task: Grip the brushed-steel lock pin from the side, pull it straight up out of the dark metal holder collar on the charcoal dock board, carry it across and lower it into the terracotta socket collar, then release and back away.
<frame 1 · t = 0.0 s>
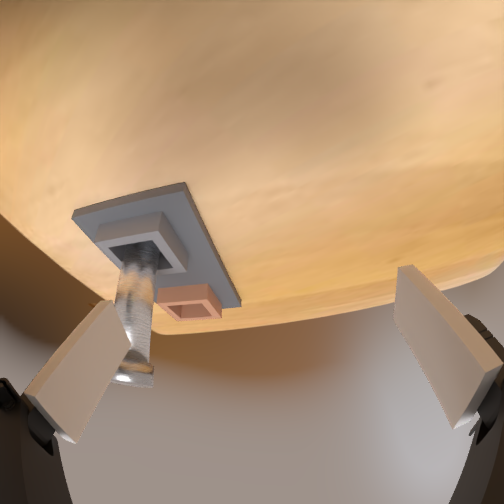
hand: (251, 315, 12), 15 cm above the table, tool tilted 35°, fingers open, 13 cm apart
dock board: (172, 265, 37), on the table
lock pin: (144, 239, 30), point 1 cm above the table, touching dock board
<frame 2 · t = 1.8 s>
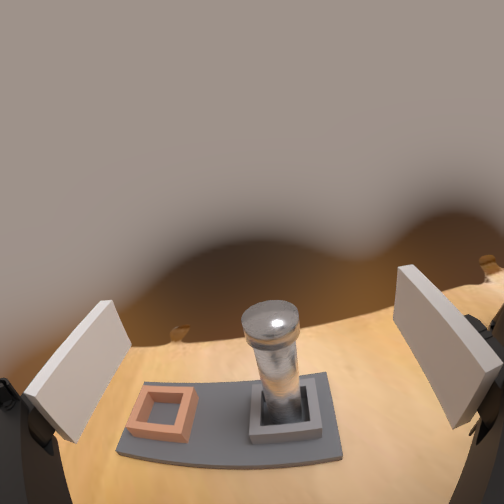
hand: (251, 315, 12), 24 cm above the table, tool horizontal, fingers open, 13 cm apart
dock board: (225, 424, 31), on the table
lock pin: (286, 416, 29), point 1 cm above the table, touching dock board
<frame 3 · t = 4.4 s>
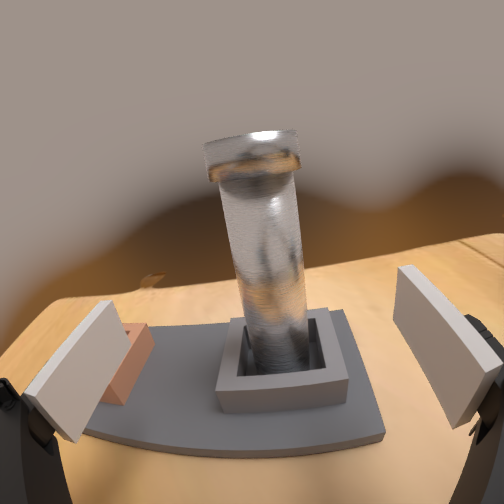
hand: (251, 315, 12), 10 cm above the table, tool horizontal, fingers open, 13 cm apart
dock board: (187, 383, 21), on the table
lock pin: (283, 369, 19), point 1 cm above the table, touching dock board
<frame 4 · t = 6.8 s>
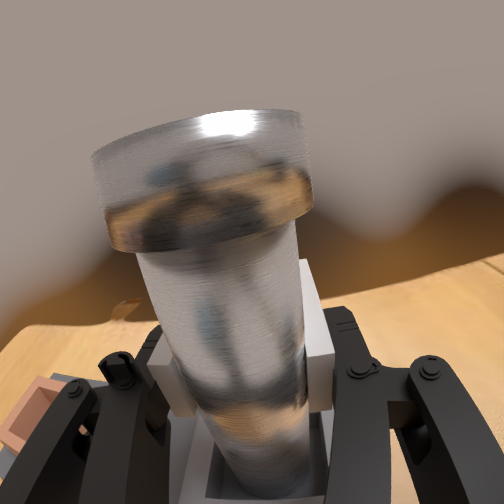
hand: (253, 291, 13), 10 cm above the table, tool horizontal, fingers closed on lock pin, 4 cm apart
dock board: (152, 468, 13), on the table
lock pin: (273, 469, 12), point 1 cm above the table, touching dock board, gripper
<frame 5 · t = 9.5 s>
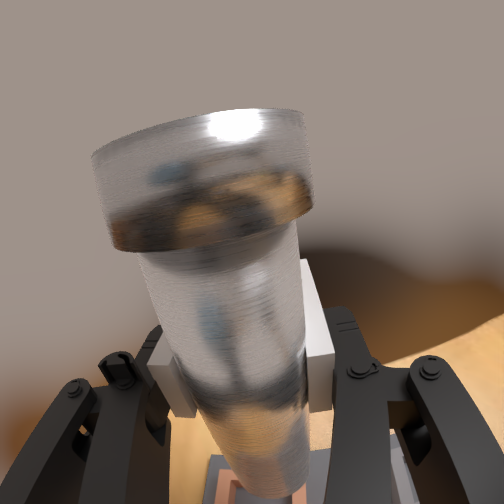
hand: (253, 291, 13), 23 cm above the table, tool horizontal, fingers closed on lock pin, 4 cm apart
dock board: (348, 503, 16), on the table
lock pin: (273, 469, 12), point 14 cm above the table, touching gripper
when the fingers open (11 cm above the table, at t = 12.5 s): lock pin drops 1 cm, resting on dock board.
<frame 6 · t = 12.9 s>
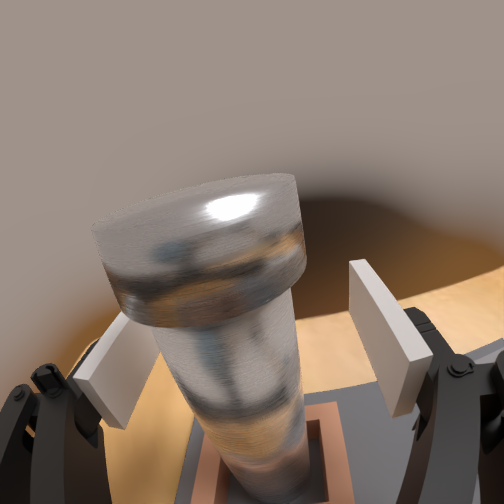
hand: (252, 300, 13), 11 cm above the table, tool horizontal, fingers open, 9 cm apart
dock board: (399, 461, 12), on the table
lock pin: (276, 478, 12), point 1 cm above the table, touching dock board
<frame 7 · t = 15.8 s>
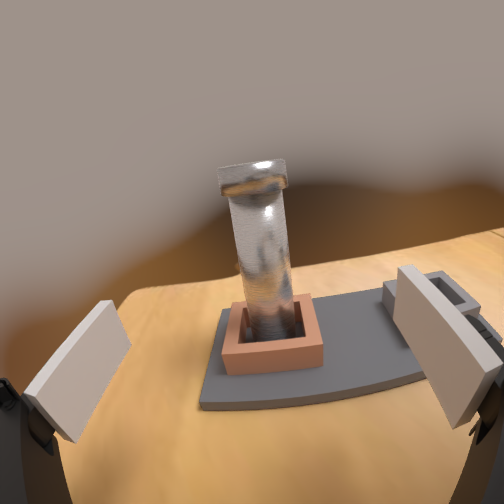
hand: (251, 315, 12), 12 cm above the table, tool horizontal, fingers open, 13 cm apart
dock board: (356, 339, 25), on the table
lock pin: (275, 342, 25), point 1 cm above the table, touching dock board
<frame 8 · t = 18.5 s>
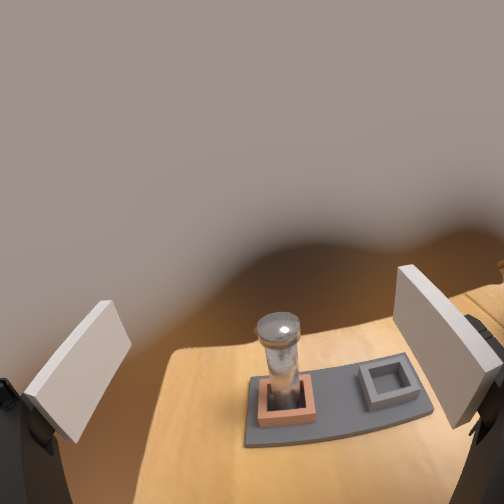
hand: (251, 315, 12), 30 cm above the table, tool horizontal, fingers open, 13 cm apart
dock board: (338, 402, 37), on the table
lock pin: (287, 405, 37), point 1 cm above the table, touching dock board
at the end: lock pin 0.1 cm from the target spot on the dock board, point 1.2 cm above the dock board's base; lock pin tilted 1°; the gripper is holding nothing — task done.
